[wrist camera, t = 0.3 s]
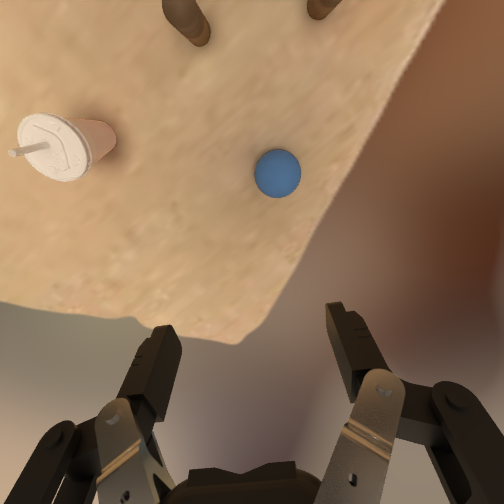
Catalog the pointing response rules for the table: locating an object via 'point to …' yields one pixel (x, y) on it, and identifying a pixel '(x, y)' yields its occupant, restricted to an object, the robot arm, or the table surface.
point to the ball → (277, 173)
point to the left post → (187, 20)
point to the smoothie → (63, 144)
